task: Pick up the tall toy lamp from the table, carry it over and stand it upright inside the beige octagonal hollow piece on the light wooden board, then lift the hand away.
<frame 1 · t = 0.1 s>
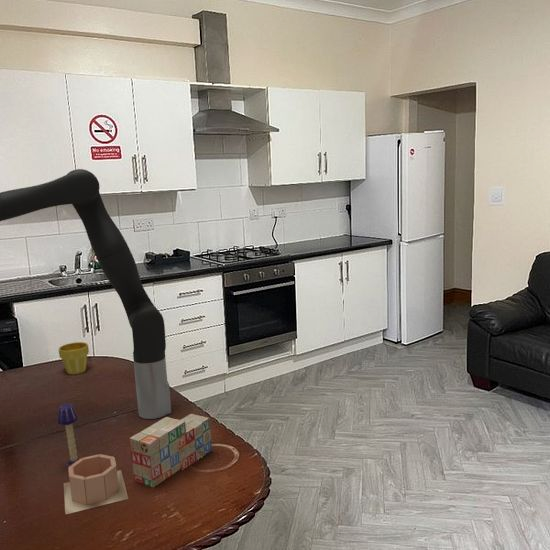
toy lamp: (73, 468, 137), on the table
birch board: (95, 495, 125), on the table
stack of blocks: (175, 468, 136), on the table
plant pot: (76, 371, 205), on the table
beige octagonal hollow piece: (95, 490, 125), resting on birch board
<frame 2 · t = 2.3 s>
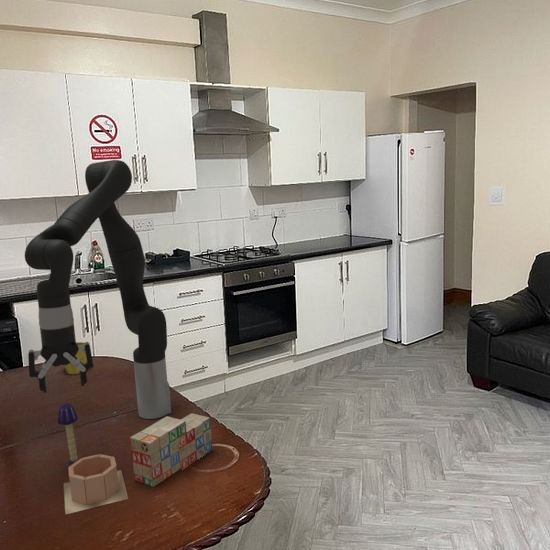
hand: (64, 388, 133), 21 cm above the table, tool pointing down, fingers open, 8 cm apart
nothing on the table moved.
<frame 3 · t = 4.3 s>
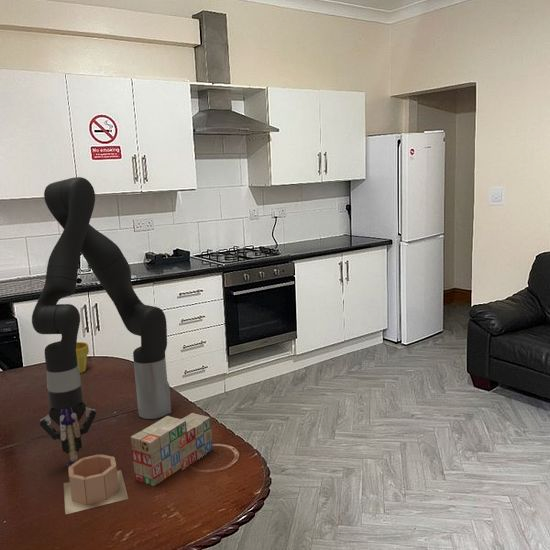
hand: (72, 450, 136), 5 cm above the table, tool pointing down, fingers closed on toy lamp
toy lamp: (73, 468, 137), on the table, touching gripper
everything else where it was.
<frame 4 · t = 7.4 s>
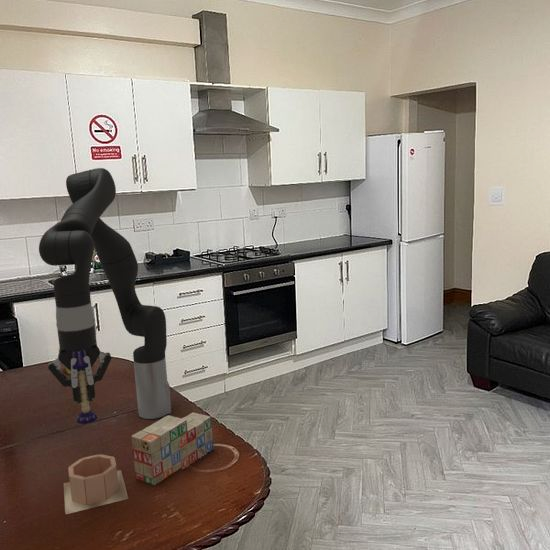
hand: (84, 400, 121), 23 cm above the table, tool pointing down, fingers closed on toy lamp
toy lamp: (85, 421, 121), point 18 cm above the table, touching gripper
everything else where it was.
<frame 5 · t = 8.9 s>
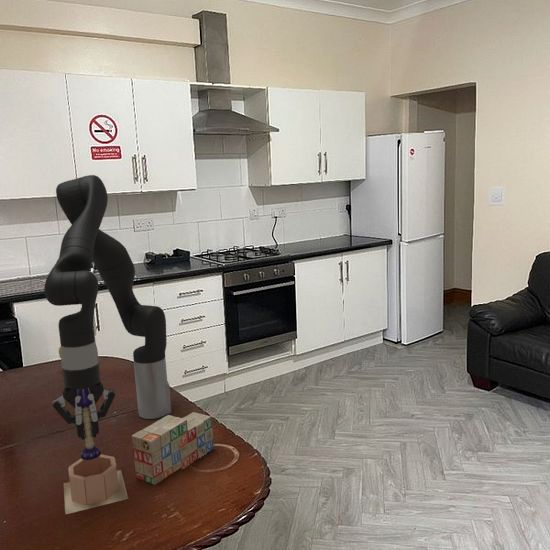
hand: (88, 436, 122), 14 cm above the table, tool pointing down, fingers closed on toy lamp
toy lamp: (89, 456, 123), point 10 cm above the table, touching gripper
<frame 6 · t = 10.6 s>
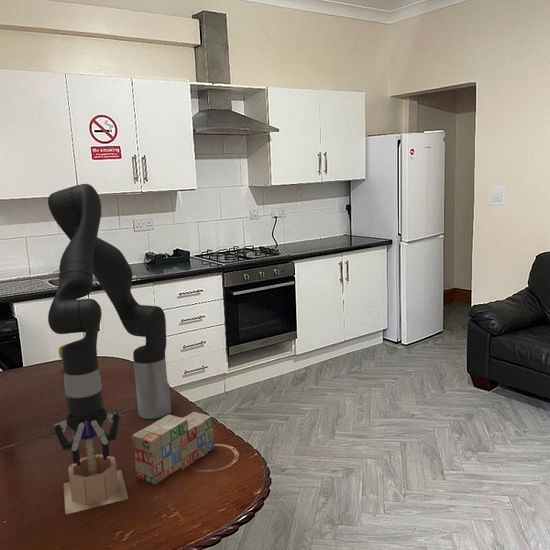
hand: (91, 460, 123), 9 cm above the table, tool pointing down, fingers open, 5 cm apart
toy lamp: (93, 487, 124), point 2 cm above the table, touching beige octagonal hollow piece
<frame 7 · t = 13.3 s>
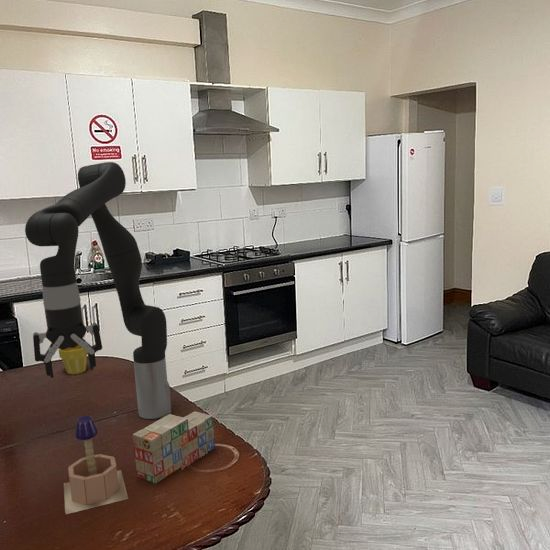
hand: (71, 372, 125), 27 cm above the table, tool pointing down, fingers open, 8 cm apart
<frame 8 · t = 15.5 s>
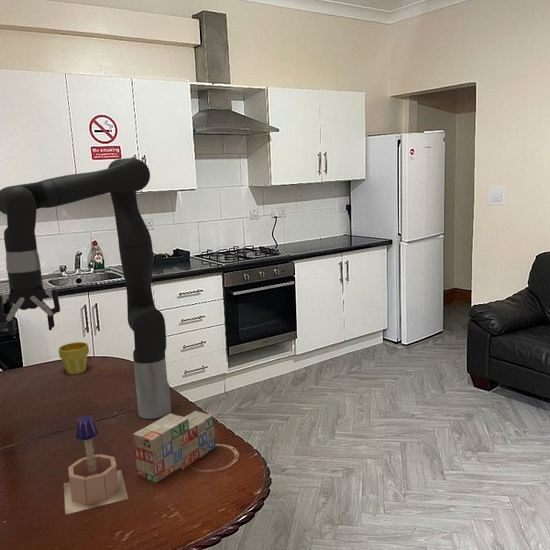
hand: (32, 332, 139), 33 cm above the table, tool pointing down, fingers open, 8 cm apart
at the end: toy lamp 0.3 cm off-centre on the beige octagonal hollow piece, point 0.8 cm above the beige octagonal hollow piece's base; toy lamp tilted 0°; the gripper is holding nothing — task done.
